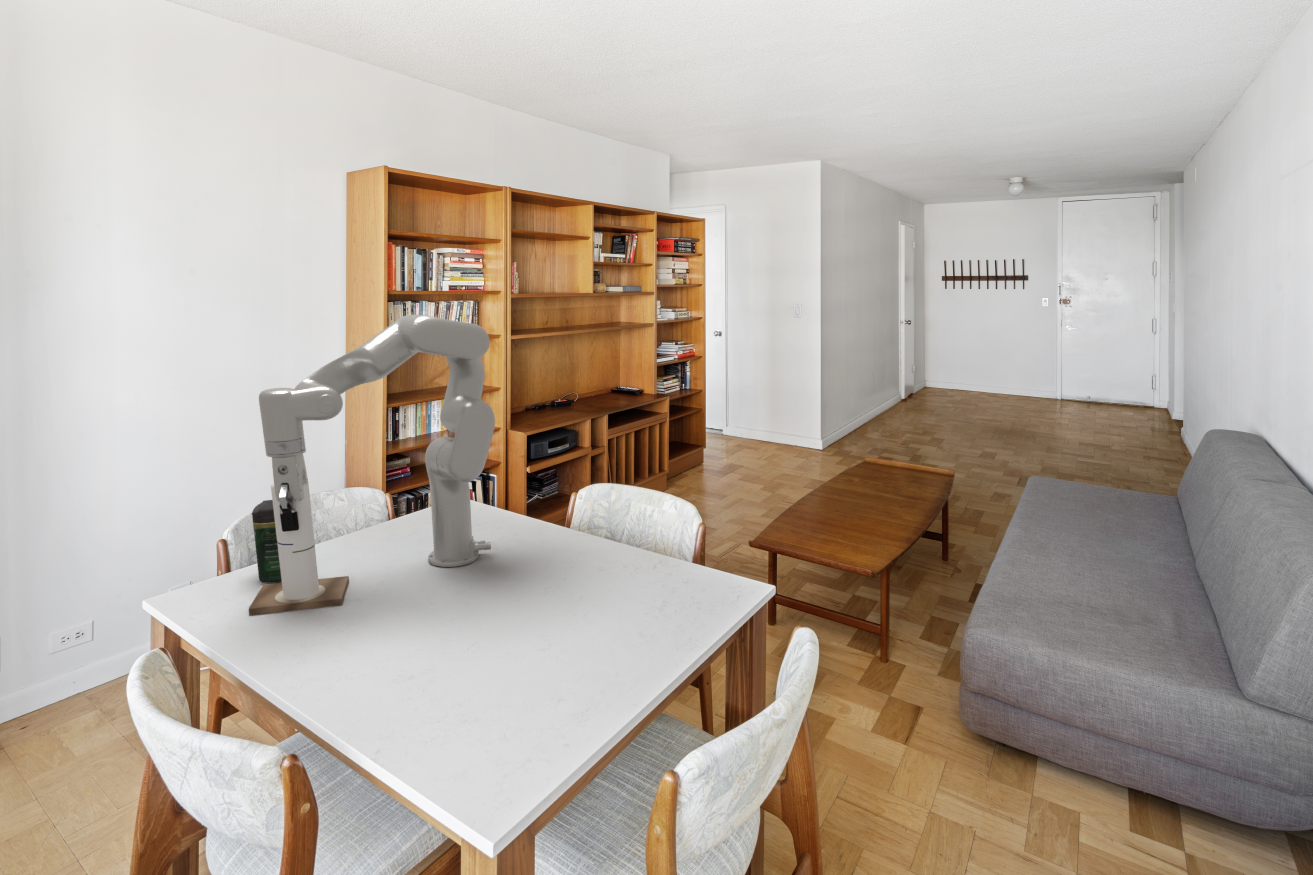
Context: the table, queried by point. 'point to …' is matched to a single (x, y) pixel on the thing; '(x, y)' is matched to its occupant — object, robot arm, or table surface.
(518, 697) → the table surface
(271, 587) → the walnut board
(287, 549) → the cylindrical container
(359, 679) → the table surface
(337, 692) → the table surface
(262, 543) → the coffee jar
